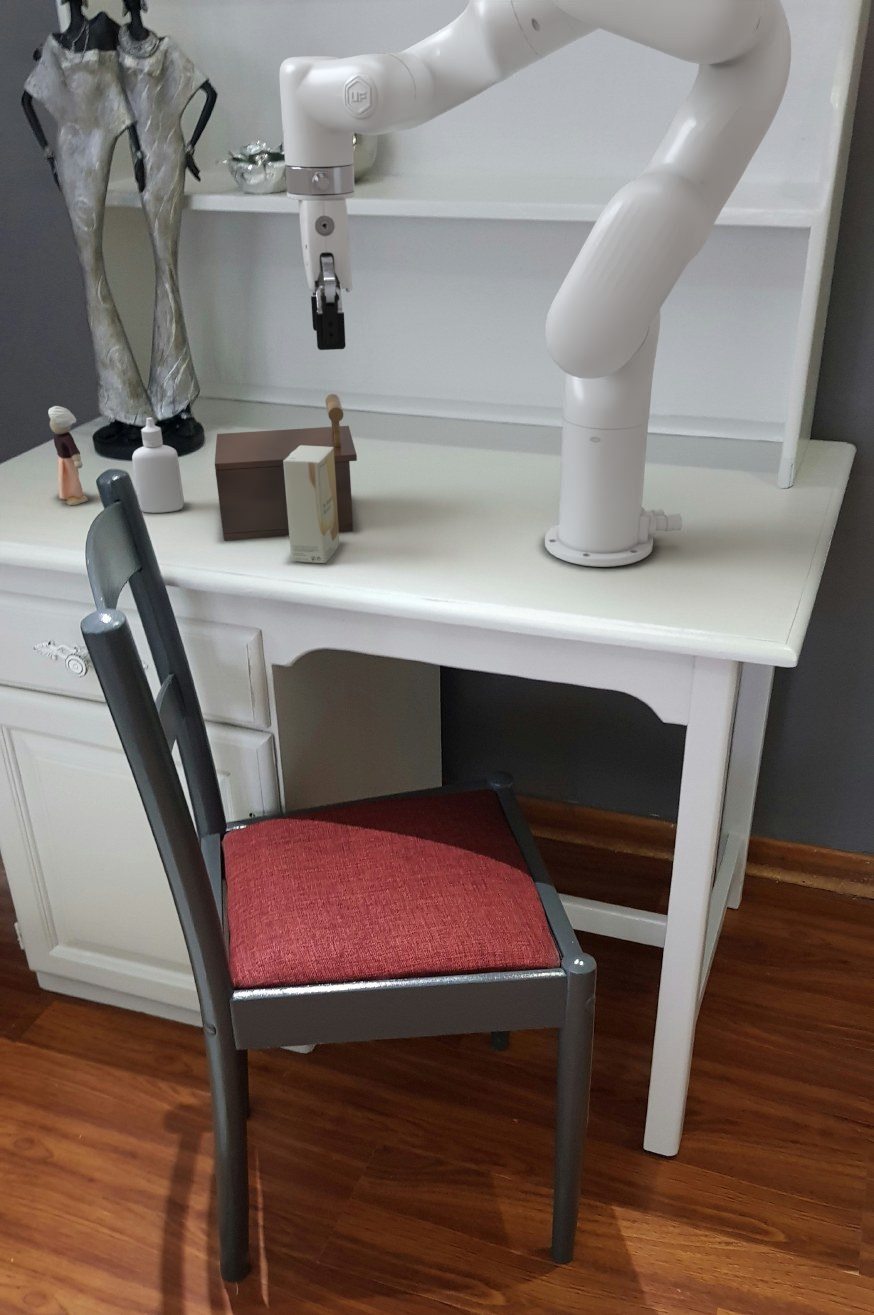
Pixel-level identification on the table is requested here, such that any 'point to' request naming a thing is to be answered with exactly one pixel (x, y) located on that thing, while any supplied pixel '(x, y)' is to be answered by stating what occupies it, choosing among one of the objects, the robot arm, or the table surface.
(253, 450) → the lid
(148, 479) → the eye dropper bottle
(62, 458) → the grandmother figurine
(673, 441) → the table surface
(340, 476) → the chest
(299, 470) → the cosmetic box
